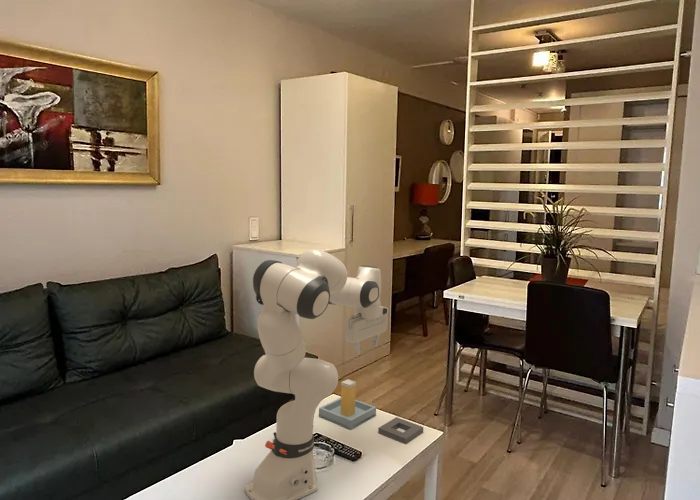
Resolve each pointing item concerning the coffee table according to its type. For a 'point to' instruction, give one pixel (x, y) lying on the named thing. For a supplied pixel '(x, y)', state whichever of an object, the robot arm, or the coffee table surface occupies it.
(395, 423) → the block
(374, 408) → the parts tray
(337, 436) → the coffee table surface
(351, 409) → the block
